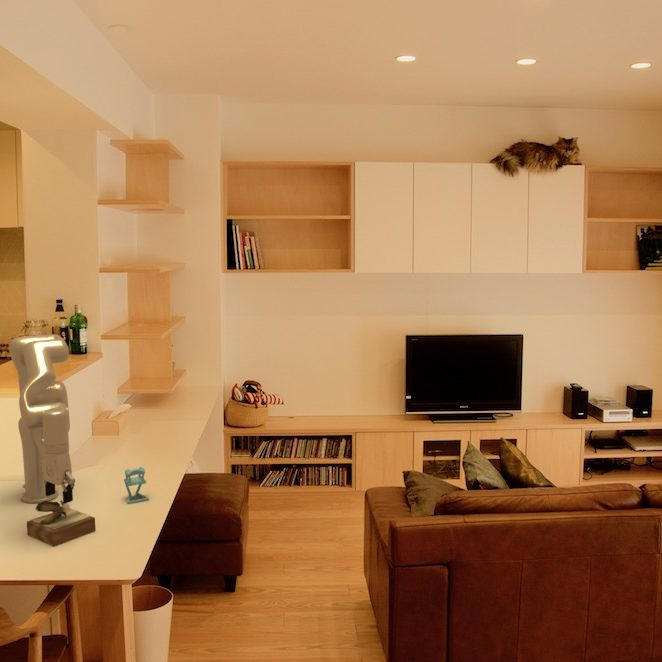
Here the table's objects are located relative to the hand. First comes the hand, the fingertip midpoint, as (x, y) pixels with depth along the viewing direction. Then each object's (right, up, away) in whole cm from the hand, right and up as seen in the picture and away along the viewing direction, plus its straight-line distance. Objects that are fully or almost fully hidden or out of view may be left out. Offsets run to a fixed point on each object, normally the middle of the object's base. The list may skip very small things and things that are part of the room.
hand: (59, 498), depth 238 cm
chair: (+16, -7, +31) cm, 36 cm away
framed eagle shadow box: (+1, -11, +1) cm, 11 cm away
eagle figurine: (-1, -7, -1) cm, 7 cm away
